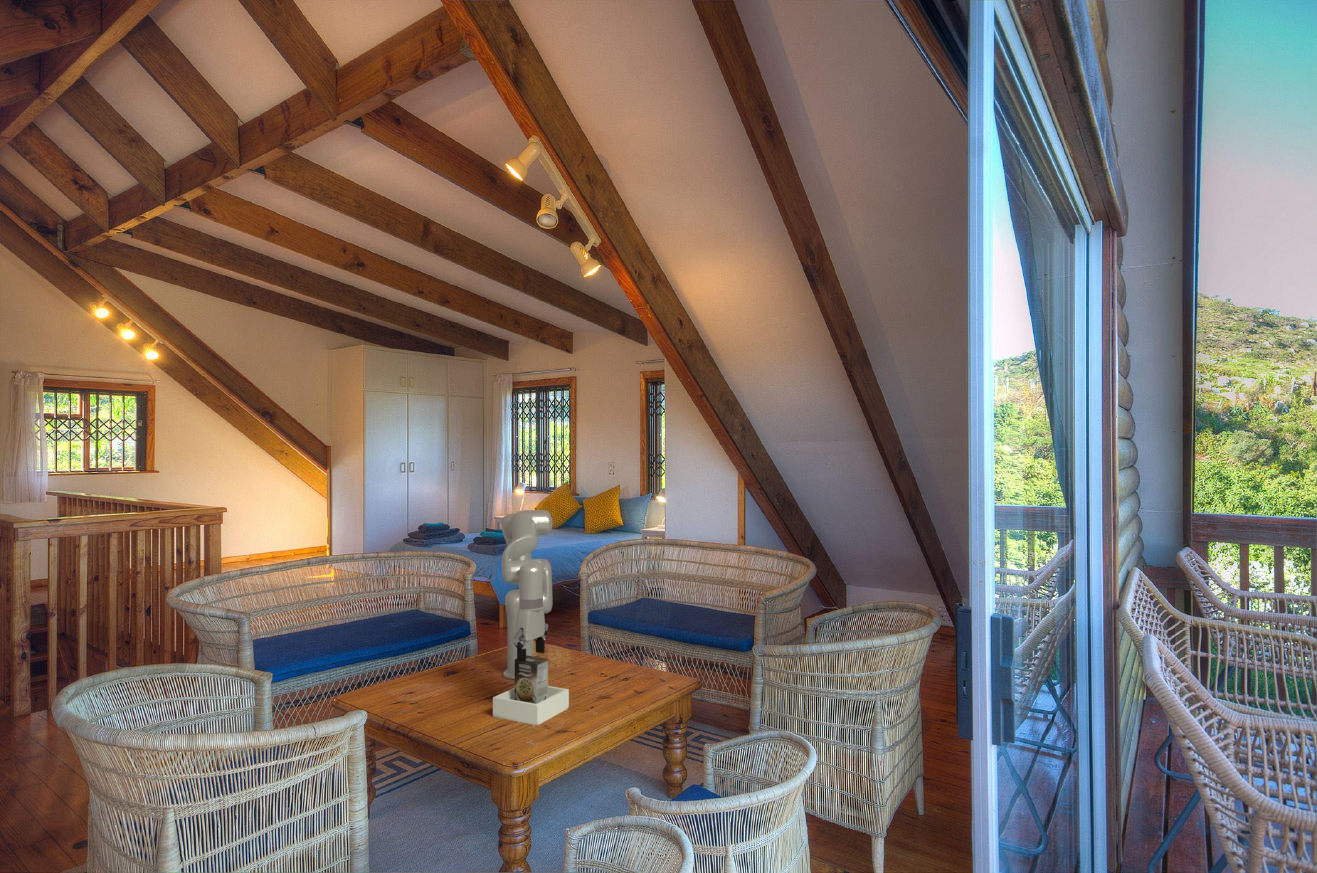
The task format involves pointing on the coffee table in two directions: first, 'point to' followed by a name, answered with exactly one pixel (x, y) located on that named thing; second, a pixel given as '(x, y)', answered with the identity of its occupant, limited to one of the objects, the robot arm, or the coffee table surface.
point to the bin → (530, 706)
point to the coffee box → (531, 679)
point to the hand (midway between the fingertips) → (531, 656)
